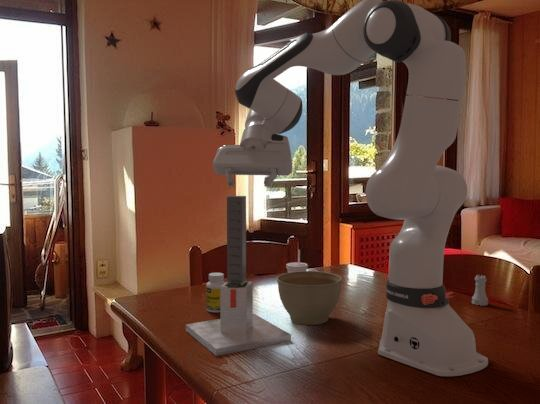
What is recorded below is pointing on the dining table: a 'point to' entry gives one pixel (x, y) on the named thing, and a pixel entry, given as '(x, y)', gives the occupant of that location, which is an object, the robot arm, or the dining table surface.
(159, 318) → the dining table surface
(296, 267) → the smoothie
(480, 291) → the rook chess piece
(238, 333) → the stand
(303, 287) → the planter bowl
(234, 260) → the post
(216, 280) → the supplement bottle
